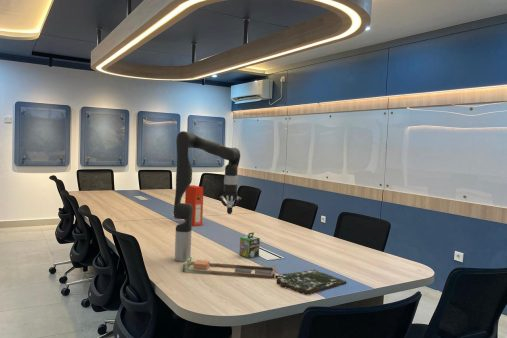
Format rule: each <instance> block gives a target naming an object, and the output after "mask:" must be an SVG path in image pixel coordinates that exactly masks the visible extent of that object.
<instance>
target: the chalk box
mask: <svg viewBox="0 0 507 338" xmlns="http://www.w3.org/2000/svg"><path fill="white" fill-rule="evenodd" d="M254 234H255V232H249V233H248V234H247V235H245V236H241V237H240V238H239V256H241V257H244V258H247V259H250V258H256V257H259V256H260V243H261V237H257V236H254Z"/></svg>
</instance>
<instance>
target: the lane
mask: <svg viewBox="0 0 507 338" xmlns="http://www.w3.org/2000/svg"><path fill="white" fill-rule="evenodd" d="M195 262H196V261H192V257H191V256H190V257H189V258H188V259H187V260H186V261H184V263H182V273H192V274H193V273H194V274H206V275H219V276H220V275H221V276H233V277H247V278H258V279H260V278H261V279H272V278H274V279H275V275H276V265H272V267H271V266H257V265H247V264H246V265H244V264H234V263H233V264H230V263H219V262H218V263H215V262H210V265H209V267H214V268H215V267H217V268H232V269H234V271H222V270H221V271H220V270H210V269H208V270H196V269H194V268H192V269H191V268H190V266H194V263H195ZM253 270H255V271H254V273H252V271H253Z"/></svg>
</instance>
